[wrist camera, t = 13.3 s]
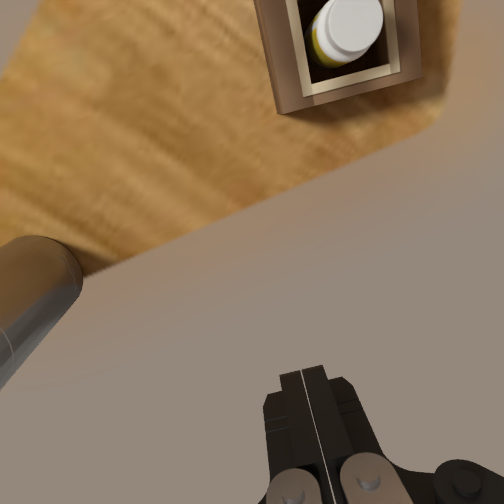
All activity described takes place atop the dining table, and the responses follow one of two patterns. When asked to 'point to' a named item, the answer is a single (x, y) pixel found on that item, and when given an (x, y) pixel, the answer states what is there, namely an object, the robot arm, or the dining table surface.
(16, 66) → the dining table surface
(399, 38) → the socket block
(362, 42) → the supplement bottle
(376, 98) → the dining table surface
